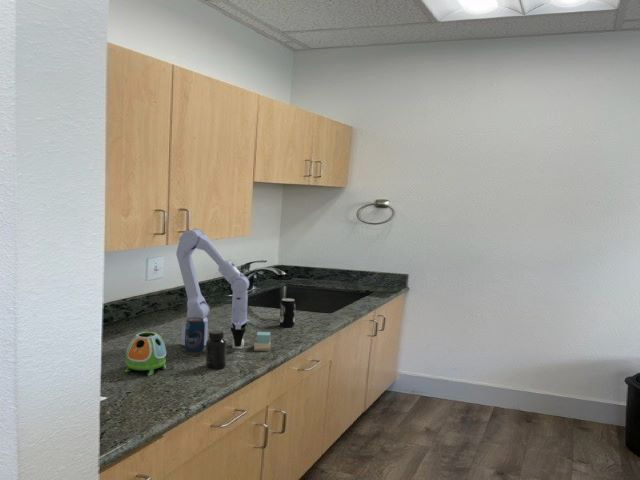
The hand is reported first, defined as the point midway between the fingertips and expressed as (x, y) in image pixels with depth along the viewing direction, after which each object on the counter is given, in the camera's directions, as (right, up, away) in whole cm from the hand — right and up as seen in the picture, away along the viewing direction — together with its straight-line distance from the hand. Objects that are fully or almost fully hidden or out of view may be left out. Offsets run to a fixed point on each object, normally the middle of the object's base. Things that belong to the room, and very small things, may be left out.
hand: (238, 343), depth 226 cm
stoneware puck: (0, -2, 0) cm, 2 cm away
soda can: (-15, -2, -8) cm, 17 cm away
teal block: (+10, +1, 0) cm, 10 cm away
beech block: (+9, -2, 0) cm, 9 cm away
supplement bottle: (-4, -4, -25) cm, 26 cm away
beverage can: (+16, +1, +38) cm, 42 cm away
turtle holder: (-26, -3, -31) cm, 40 cm away
